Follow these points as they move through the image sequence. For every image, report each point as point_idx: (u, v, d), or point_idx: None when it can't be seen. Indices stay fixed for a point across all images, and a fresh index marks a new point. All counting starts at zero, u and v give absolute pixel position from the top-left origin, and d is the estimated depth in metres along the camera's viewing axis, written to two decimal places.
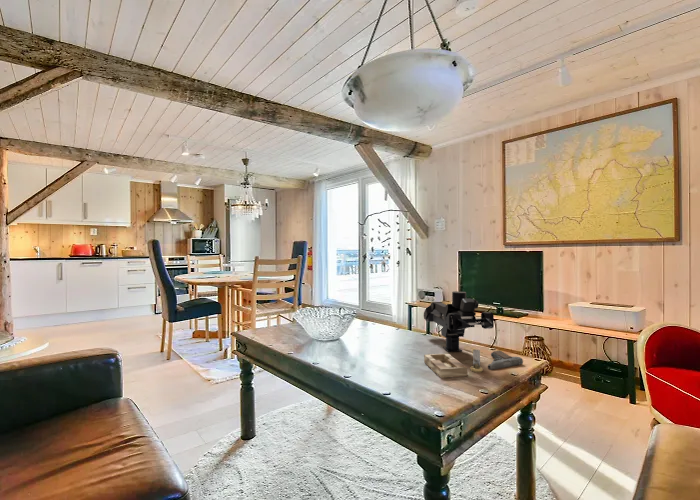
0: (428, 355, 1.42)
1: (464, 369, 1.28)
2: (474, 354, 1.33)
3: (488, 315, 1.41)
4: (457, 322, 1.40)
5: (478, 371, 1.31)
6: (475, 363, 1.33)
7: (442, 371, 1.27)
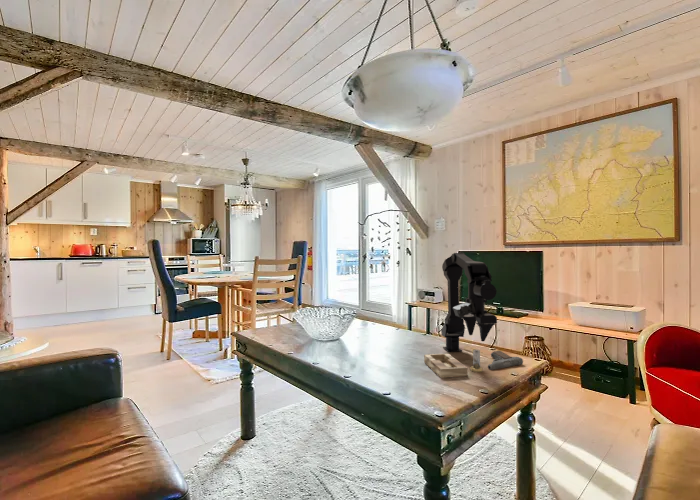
0: (428, 355, 1.42)
1: (464, 369, 1.28)
2: (474, 354, 1.33)
3: (479, 325, 1.27)
4: None
5: (478, 371, 1.31)
6: (475, 363, 1.33)
7: (442, 371, 1.27)
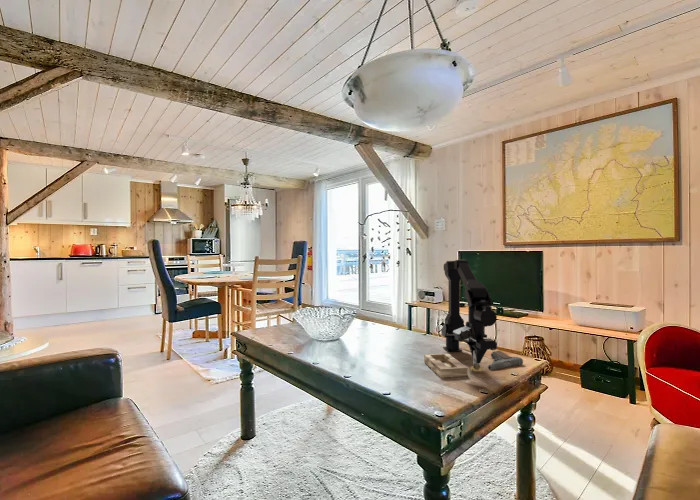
0: (428, 355, 1.42)
1: (464, 369, 1.28)
2: (474, 354, 1.33)
3: (475, 348, 1.30)
4: None
5: (478, 371, 1.31)
6: (475, 363, 1.33)
7: (442, 371, 1.27)
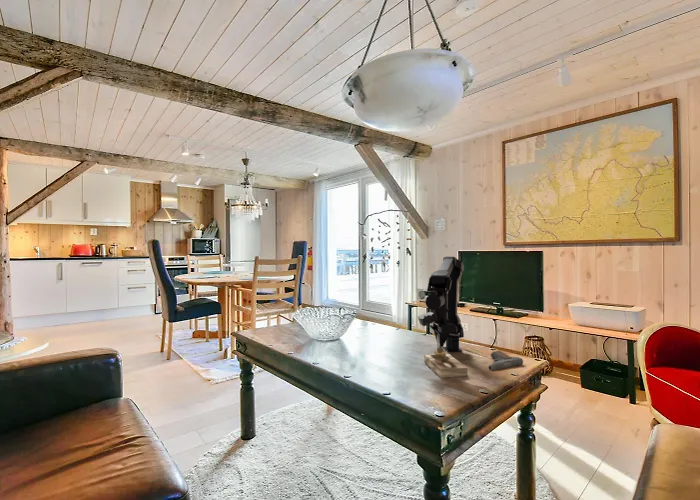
0: (428, 355, 1.42)
1: (464, 369, 1.28)
2: (437, 338, 1.39)
3: (437, 332, 1.36)
4: None
5: (441, 354, 1.38)
6: (438, 347, 1.39)
7: (442, 371, 1.27)
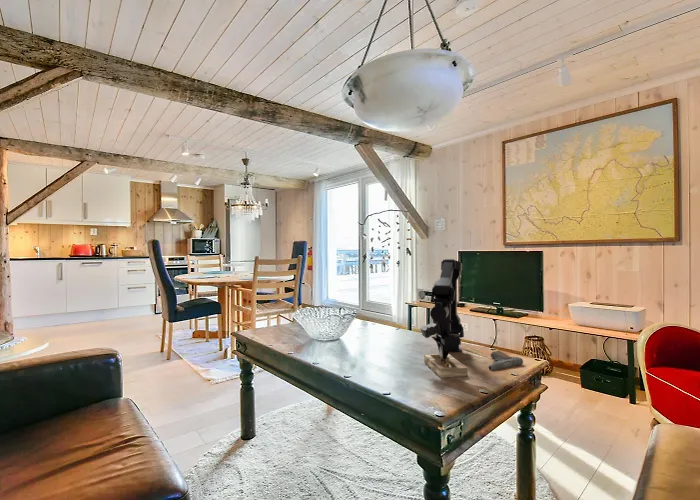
0: (428, 355, 1.42)
1: (464, 369, 1.28)
2: (440, 350, 1.36)
3: (440, 344, 1.33)
4: None
5: None
6: (441, 359, 1.36)
7: (442, 371, 1.27)
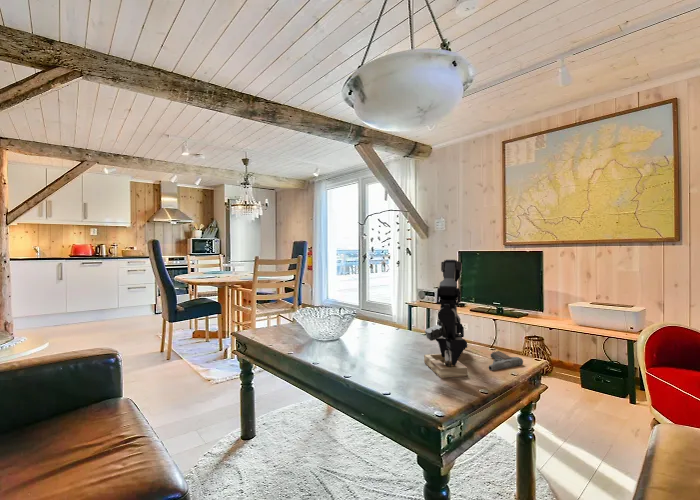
0: (428, 355, 1.42)
1: (464, 369, 1.28)
2: (446, 354, 1.31)
3: (449, 349, 1.25)
4: None
5: None
6: (446, 363, 1.31)
7: (442, 371, 1.27)
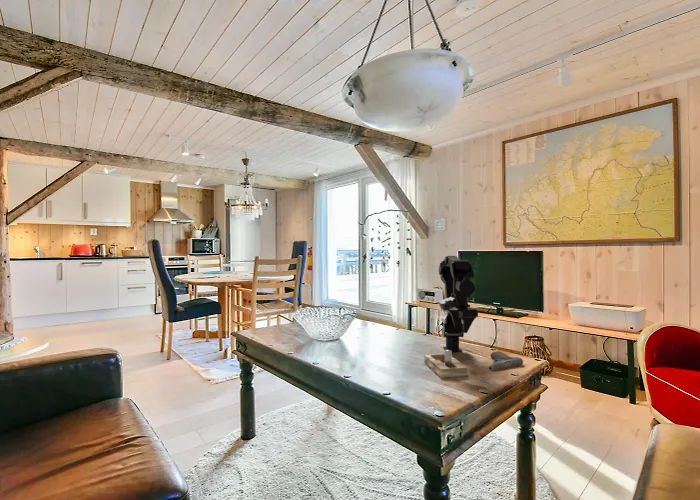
0: (428, 355, 1.42)
1: (464, 369, 1.28)
2: (446, 354, 1.31)
3: (461, 318, 1.37)
4: None
5: None
6: (446, 363, 1.31)
7: (442, 371, 1.27)
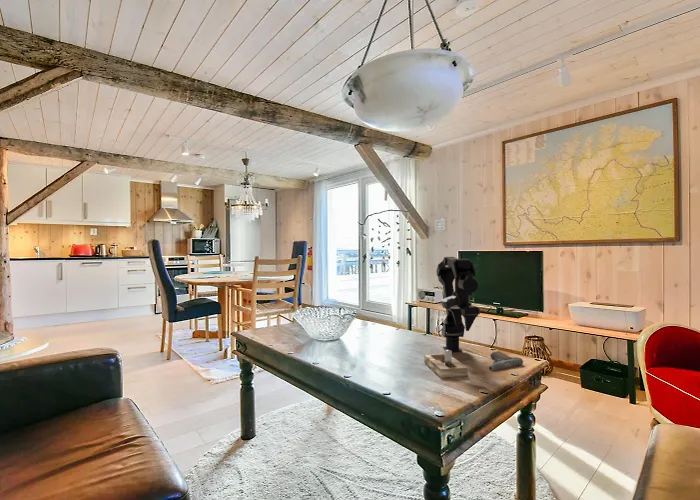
0: (428, 355, 1.42)
1: (464, 369, 1.28)
2: (446, 354, 1.31)
3: (464, 316, 1.38)
4: None
5: None
6: (446, 363, 1.31)
7: (442, 371, 1.27)
